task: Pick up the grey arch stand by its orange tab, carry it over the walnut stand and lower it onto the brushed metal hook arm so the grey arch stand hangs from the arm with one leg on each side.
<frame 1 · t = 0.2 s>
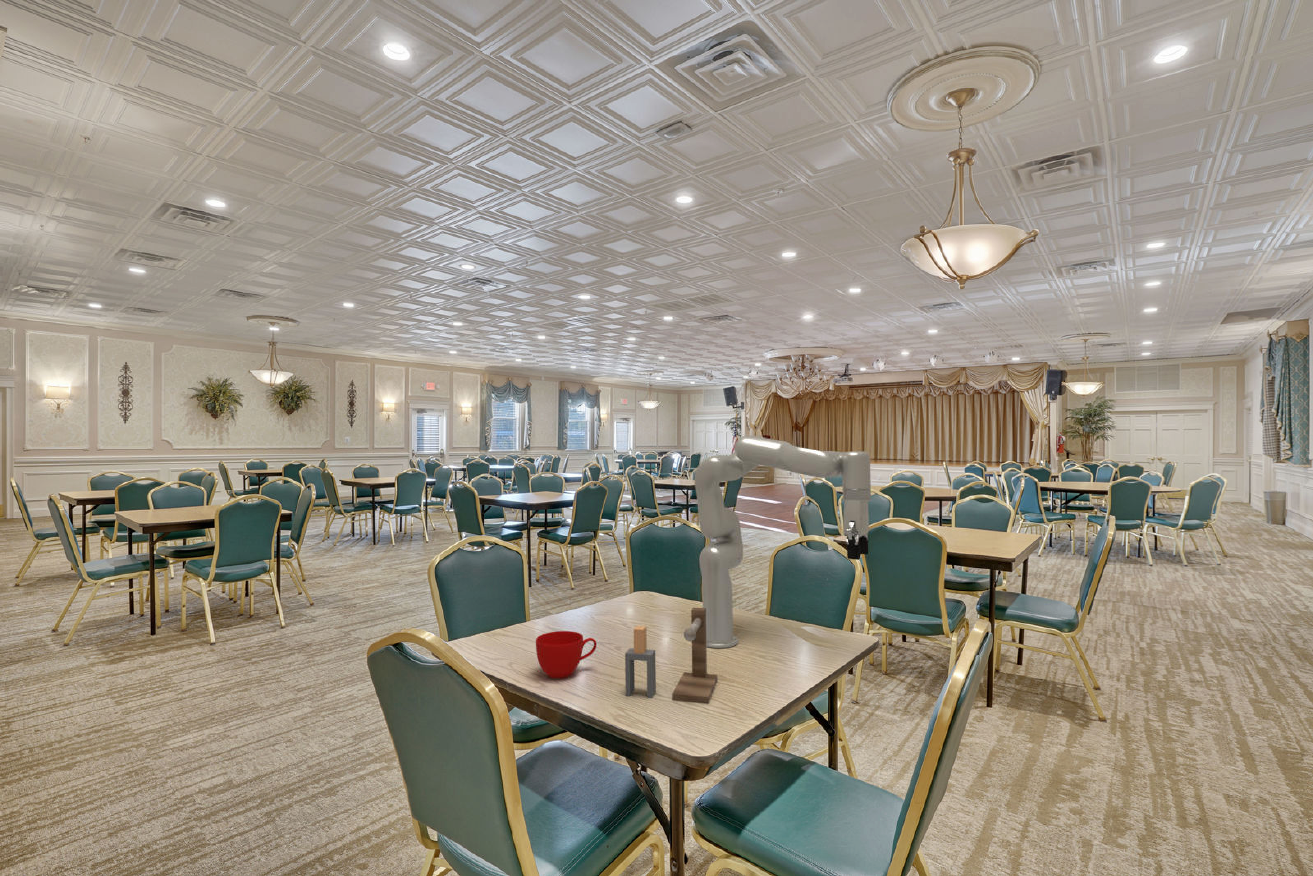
hand: (858, 556, 165), 31 cm above the table, tool pointing down, fingers open, 9 cm apart
ceramic cup: (566, 674, 163), on the table
hook stand: (695, 689, 151), on the table
grey arch stand: (640, 693, 149), on the table
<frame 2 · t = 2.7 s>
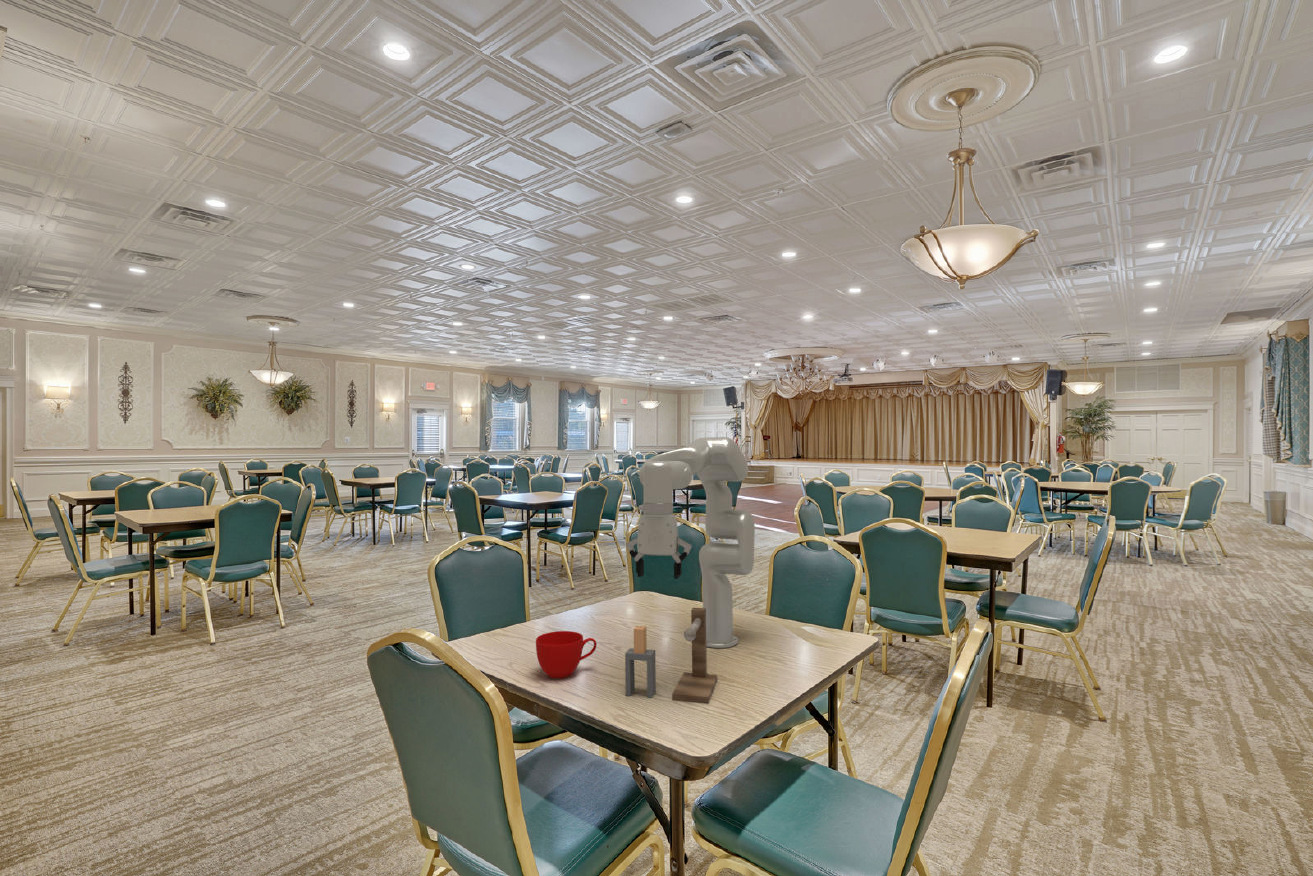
hand: (658, 577, 151), 29 cm above the table, tool pointing down, fingers open, 9 cm apart
nothing on the table moved.
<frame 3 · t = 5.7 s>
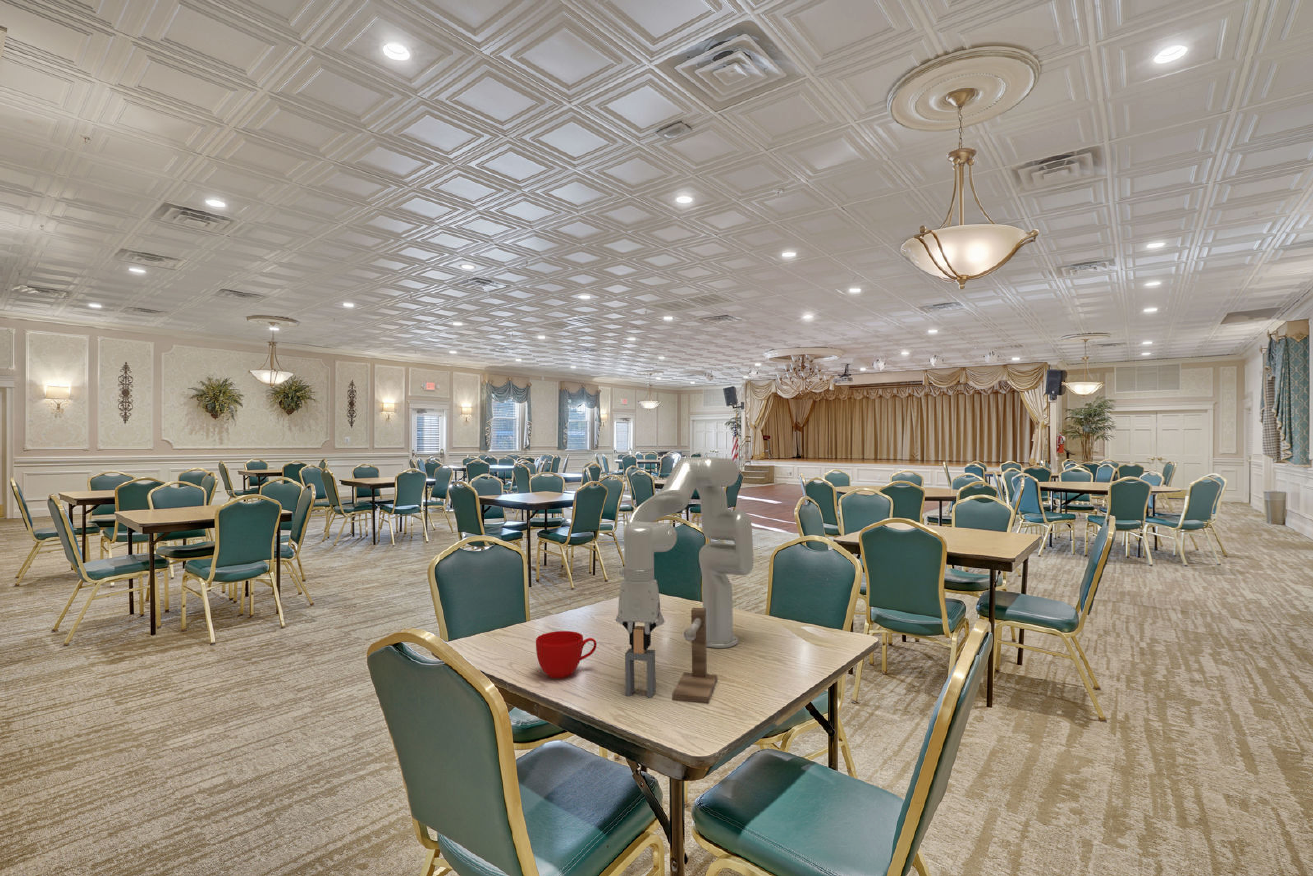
hand: (640, 647, 149), 12 cm above the table, tool pointing down, fingers closed on grey arch stand, 2 cm apart
grey arch stand: (640, 693, 149), on the table, touching gripper
everything else where it was.
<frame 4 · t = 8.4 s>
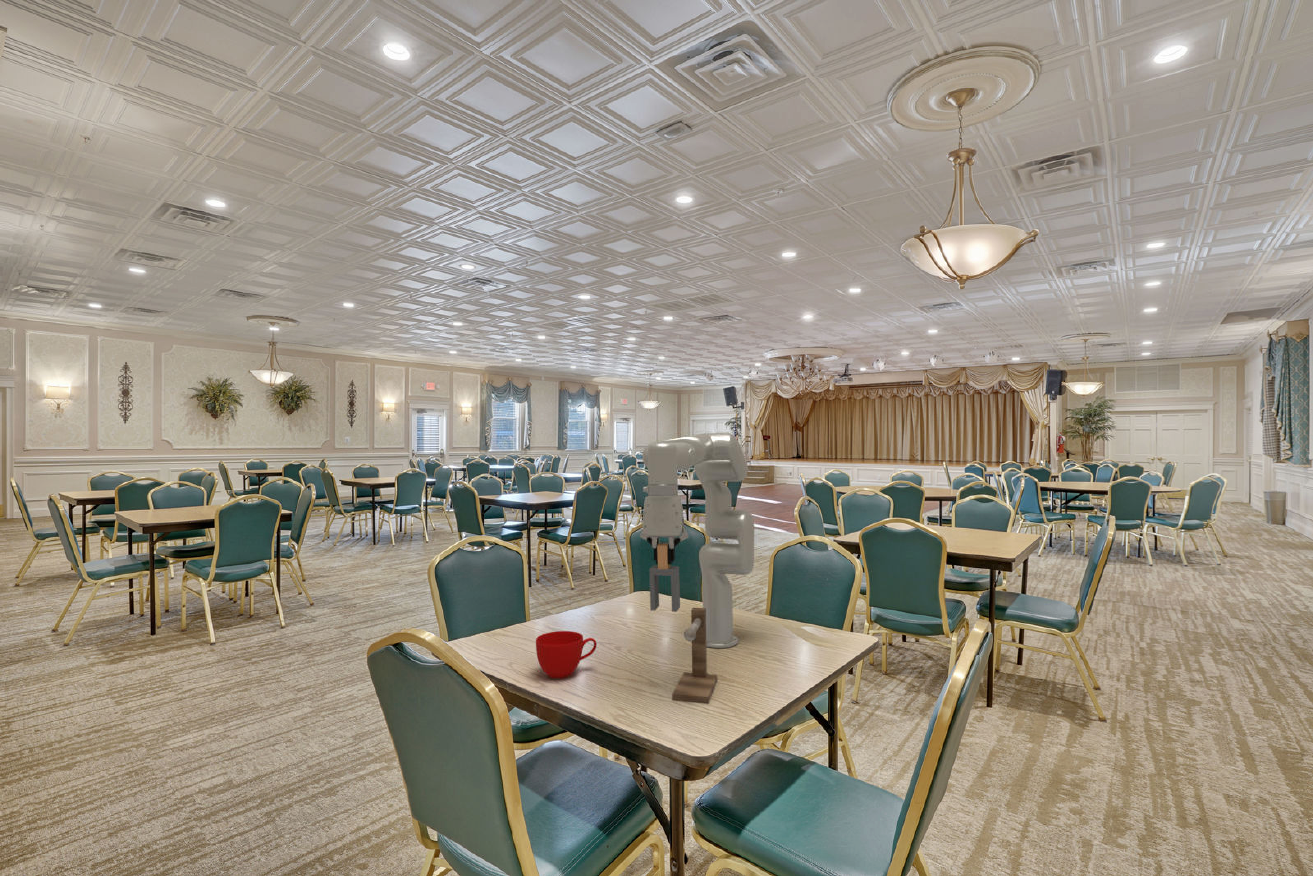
hand: (664, 562, 150), 33 cm above the table, tool pointing down, fingers closed on grey arch stand, 2 cm apart
grey arch stand: (665, 608, 150), point 21 cm above the table, touching gripper
everything else where it was.
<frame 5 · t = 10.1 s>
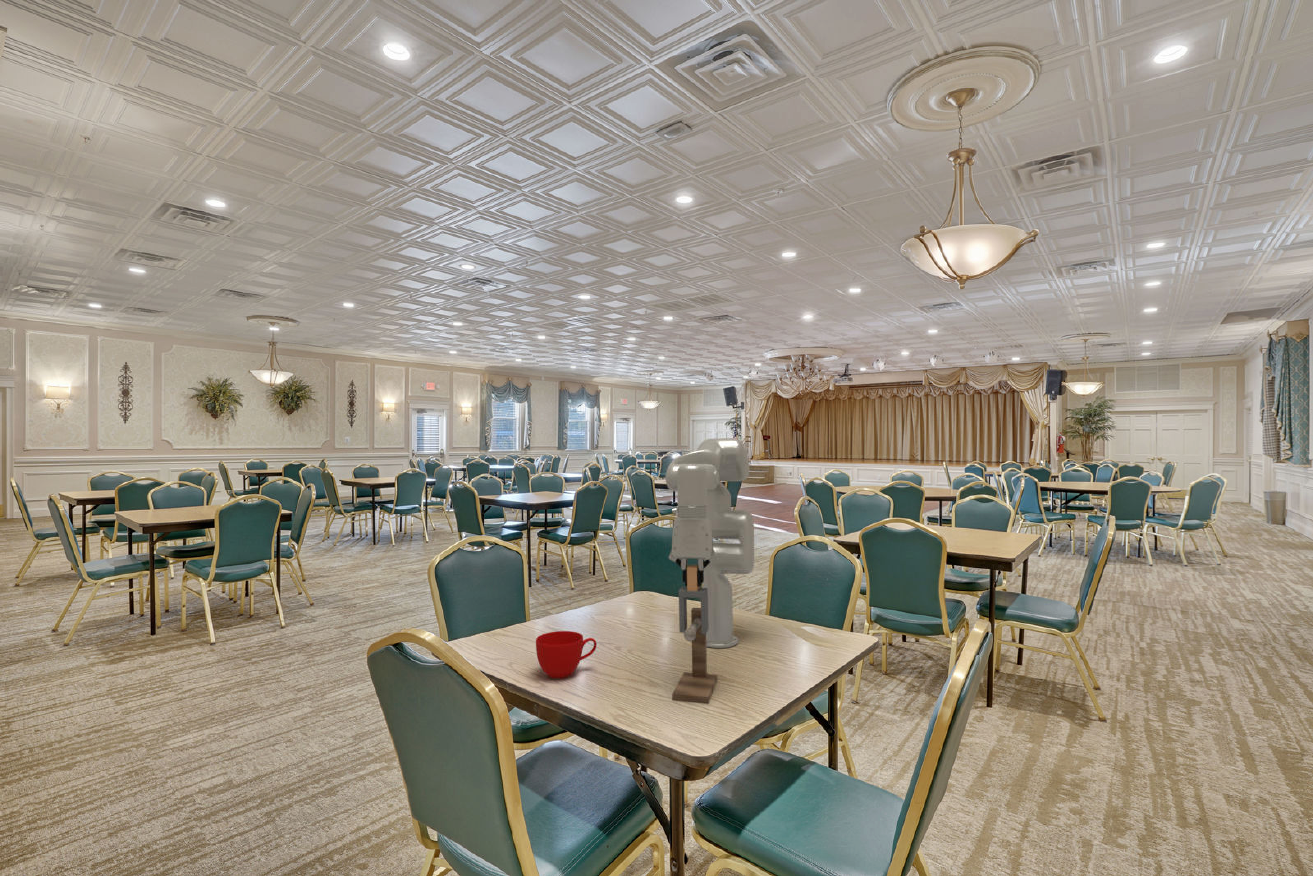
hand: (693, 584, 150), 27 cm above the table, tool pointing down, fingers closed on grey arch stand, 2 cm apart
grey arch stand: (694, 630, 150), point 15 cm above the table, touching gripper
everything else where it was.
when the fingers open (21 cm above the table, at t = 11.4 s): grey arch stand drops 1 cm, resting on hook stand.
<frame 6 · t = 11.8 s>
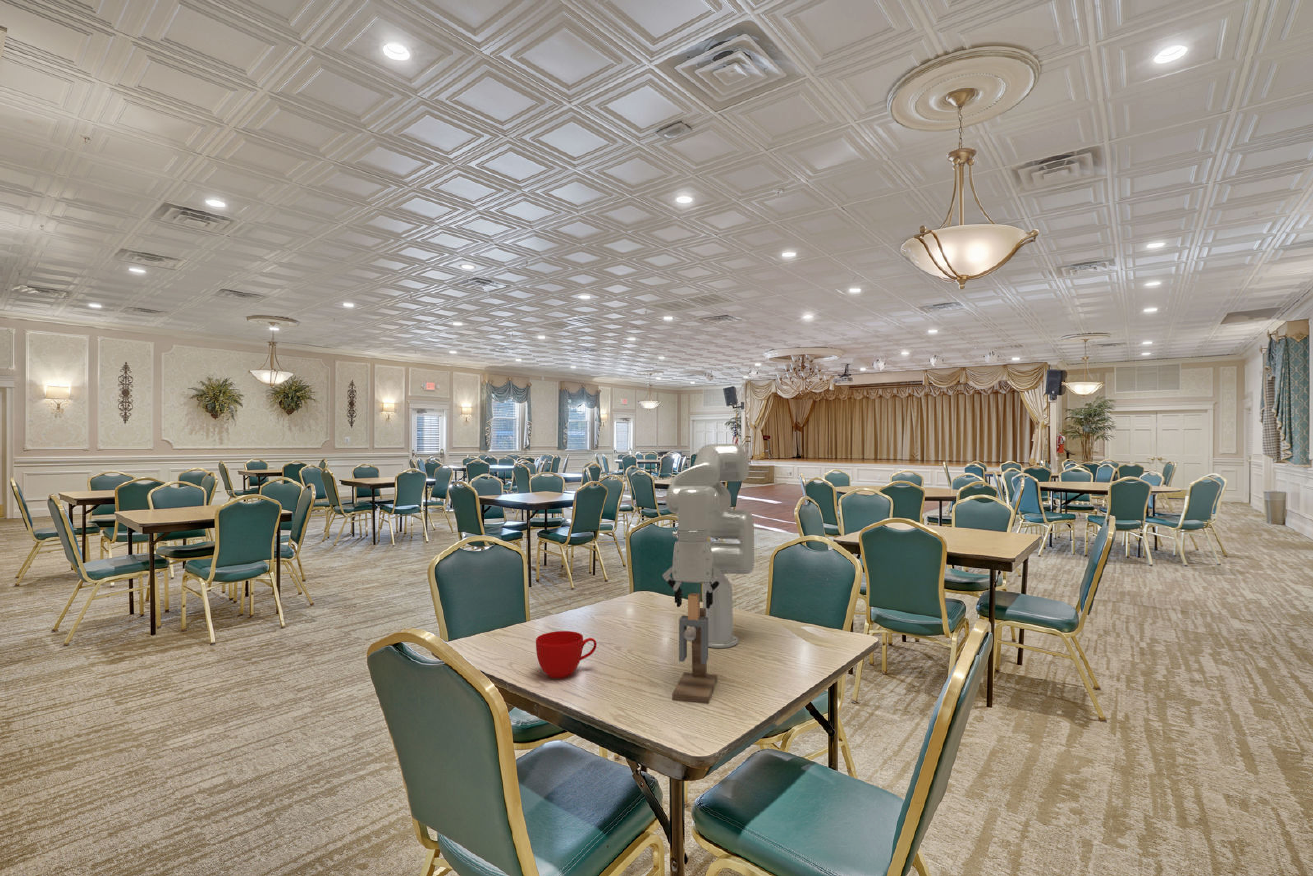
hand: (693, 606, 150), 22 cm above the table, tool pointing down, fingers open, 7 cm apart
grey arch stand: (693, 660, 150), point 8 cm above the table, touching hook stand
everything else where it was.
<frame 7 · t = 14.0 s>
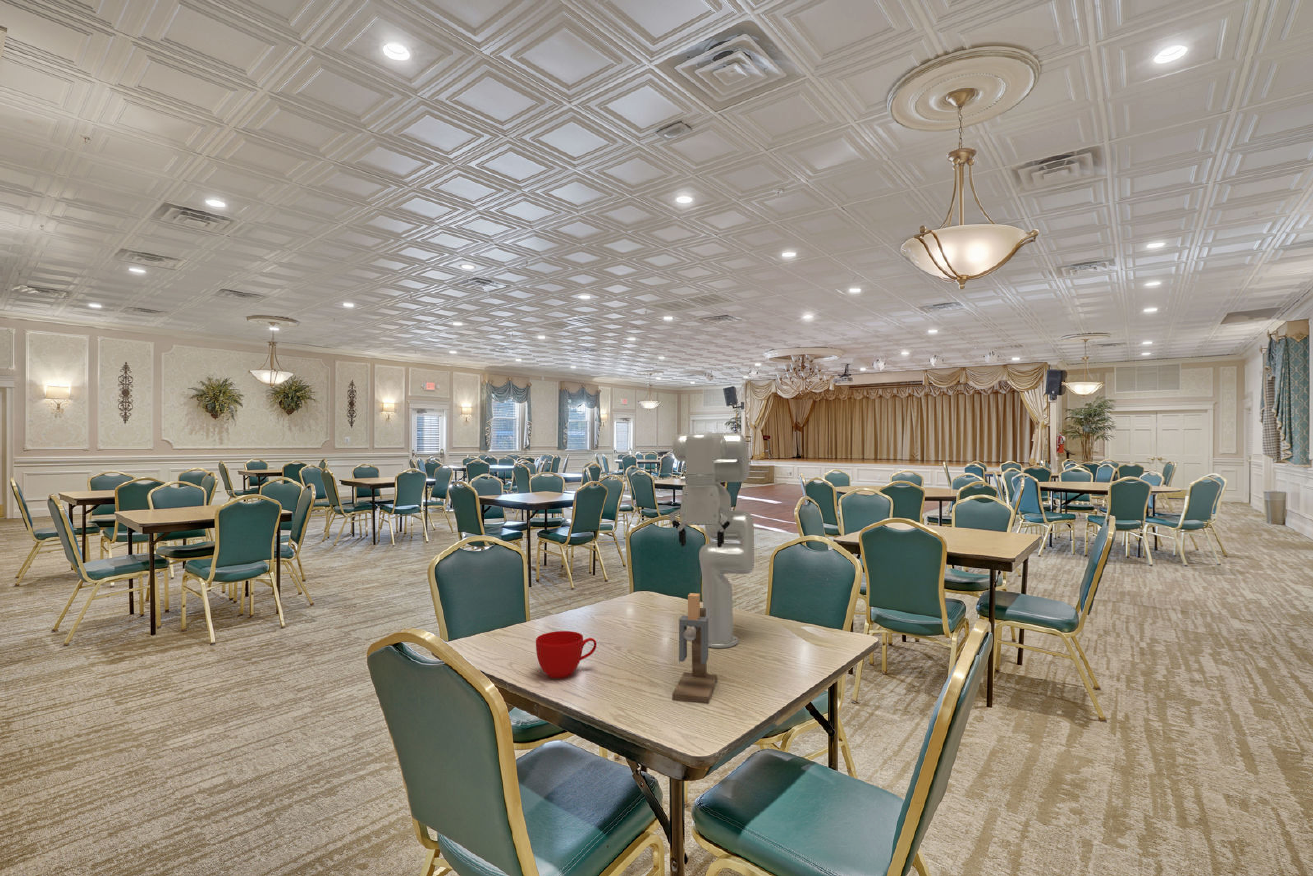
hand: (701, 546, 155), 36 cm above the table, tool pointing down, fingers open, 9 cm apart
nothing on the table moved.
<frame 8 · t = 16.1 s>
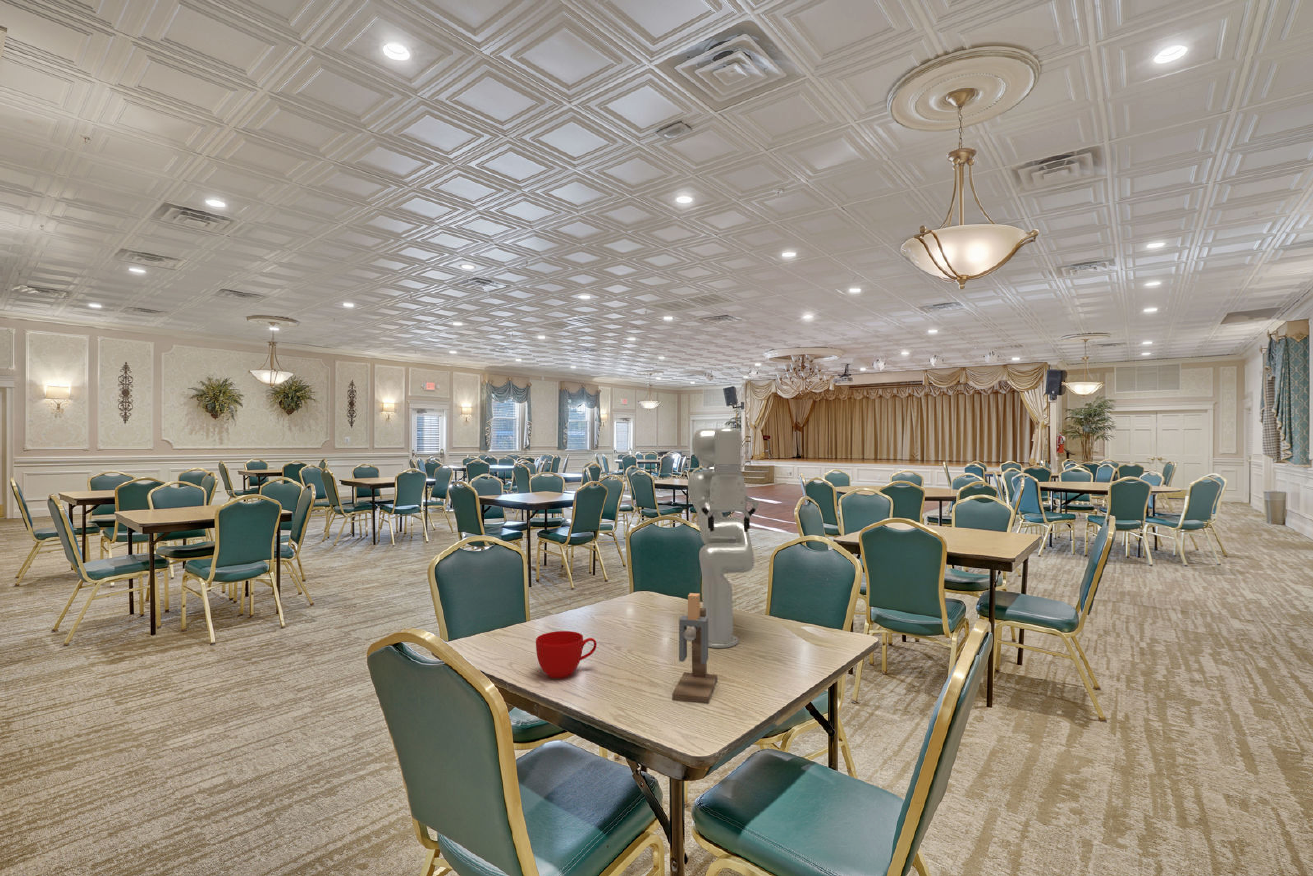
hand: (728, 531, 167), 38 cm above the table, tool pointing down, fingers open, 9 cm apart
nothing on the table moved.
at the end: grey arch stand inside the target area on the hook stand (0.5 cm from its centre), point 8.0 cm above the hook stand's base; the gripper is holding nothing; grey arch stand tilted 1° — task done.
